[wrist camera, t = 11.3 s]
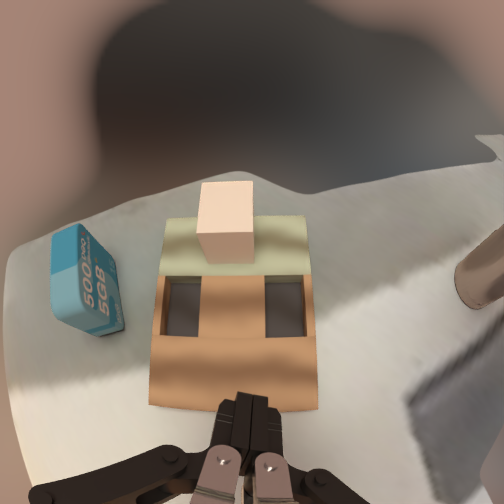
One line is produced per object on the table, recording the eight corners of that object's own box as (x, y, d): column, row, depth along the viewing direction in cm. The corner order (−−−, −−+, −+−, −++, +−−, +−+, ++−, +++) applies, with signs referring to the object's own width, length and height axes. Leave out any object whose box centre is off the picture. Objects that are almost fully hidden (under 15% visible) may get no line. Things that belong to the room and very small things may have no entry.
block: (254, 263, 37) (253, 231, 29) (208, 264, 37) (196, 233, 30) (253, 218, 40) (252, 180, 33) (211, 219, 40) (202, 182, 33)
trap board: (313, 407, 31) (318, 409, 28) (156, 403, 31) (148, 404, 29) (302, 226, 42) (304, 215, 40) (172, 229, 43) (167, 218, 40)
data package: (126, 331, 36) (80, 307, 25) (100, 338, 35) (50, 317, 24) (115, 259, 41) (77, 217, 30) (92, 267, 40) (50, 229, 30)
